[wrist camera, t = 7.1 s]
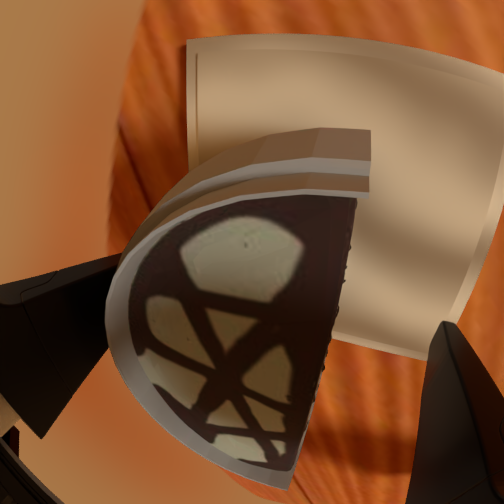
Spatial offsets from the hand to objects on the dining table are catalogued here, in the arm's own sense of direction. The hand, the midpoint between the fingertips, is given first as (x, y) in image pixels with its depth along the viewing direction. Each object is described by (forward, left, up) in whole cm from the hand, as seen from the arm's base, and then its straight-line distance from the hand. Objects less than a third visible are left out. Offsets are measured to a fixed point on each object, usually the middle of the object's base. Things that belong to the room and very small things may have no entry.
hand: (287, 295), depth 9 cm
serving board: (0, 0, -9) cm, 9 cm away
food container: (-1, +2, -7) cm, 7 cm away
